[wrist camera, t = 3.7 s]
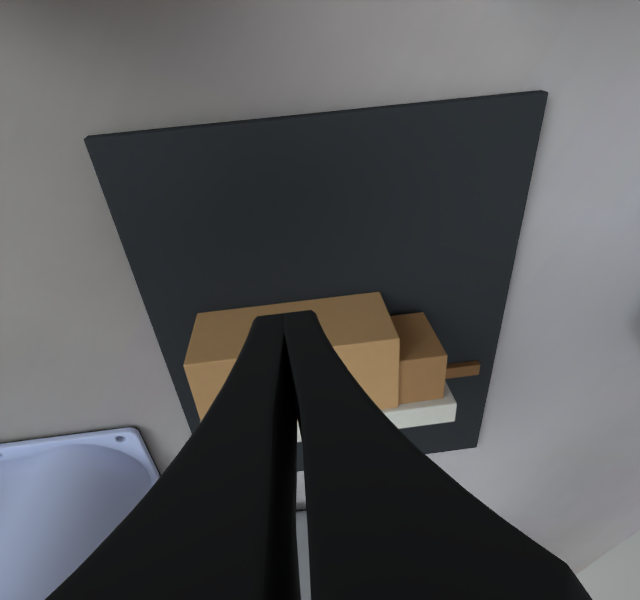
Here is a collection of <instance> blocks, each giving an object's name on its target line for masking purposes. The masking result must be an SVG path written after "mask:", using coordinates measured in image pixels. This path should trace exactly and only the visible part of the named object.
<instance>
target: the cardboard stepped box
mask: <svg viewBox="0 0 640 600" xmlns="http://www.w3.org/2000/svg"><path fill="white" fill-rule="evenodd" d="M305 310H312V311H313V312H315V313H316V314H317V317H318V320H319V322H320V325H321V327H322V329H323V331H324V333H325V334H326V336H327V338H328V340H329V341H330V343H331V345H332V346H333V348H334V350H335V351H336V353H337V354H338V356H339V357H340V359H341V360H342V361H343V363H344V364H345V366H346V367H347V369H348V370H349V371H350V373H351V374H352V376H353V377H354V378H355V380H356V381H357V382H358V383H359V385H360V386H361V387H362V388H363V390H364V391H365V392H366V393H367V395H368V396H369V397H370V398H371V399H372V401H373V402H374V403H375V404H376V405H377V406H378V408H379V409H380V410H381V411H382V412H383V413H384V414H385V415H386V416H387V417H388V418H389V420H390V421H391V422H392V423H393V424H394V425H395V426H396V427H397V428H398V429H400V428H408V427H416V426H423V425H431V424H438V423H446V422H453V421H455V415H456V407H457V403H456V401H455V399H454V397H453V395H452V393H451V391H450V389H449V387H448V385H447V383H446V382H445V377H446V366H447V354H446V352H445V350H444V348H443V347H442V345H441V343H440V341H439V339H438V338H437V336H436V334H435V332H434V331H433V329H432V327H431V325H430V323H429V322H428V320H427V318H426V316H425V314H424V313H423V312H420V313H412V314H403V315H395V316H390V315H389V312H388V310H387V308H386V306H385V303H384V301H383V299H382V296H381V294H380V292H372V293H364V294H355V295H347V296H338V297H330V298H321V299H313V300H305V301H296V302H288V303H279V304H271V305H262V306H254V307H246V308H237V309H229V310H220V311H212V312H203V313H198V314H197V316H196V320H195V324H194V328H193V331H192V335H191V339H190V343H189V346H188V350H187V354H186V358H185V361H184V365H183V366H184V369H185V372H186V376H187V379H188V382H189V385H190V388H191V392H192V395H193V398H194V401H195V404H196V408H197V411H198V414H199V417H200V420H201V421H202V419H203V418H204V416H205V414H206V413H207V411H208V410H209V408H210V406H211V405H212V403H213V401H214V400H215V398H216V396H217V395H218V393H219V391H220V390H221V388H222V386H223V385H224V383H225V381H226V379H227V377H228V375H229V373H230V371H231V369H232V368H233V366H234V364H235V362H236V360H237V358H238V356H239V354H240V352H241V349H242V347H243V345H244V343H245V341H246V338H247V336H248V333H249V331H250V328H251V325H252V322H253V320H254V319H255V318H256V317H257V316H263V315H272V314H280V313H289V312H297V311H305ZM201 421H200V422H201ZM297 442H302V440H301V435H300V429H299V424H298V419H297Z"/></svg>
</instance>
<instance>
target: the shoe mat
mask: <svg viewBox="0 0 640 600" xmlns="http://www.w3.org/2000/svg"><path fill="white" fill-rule="evenodd" d="M547 96H548V92H546V91H542V90H540V91H530V92H520V93H510V94H500V95H490V96H480V97H470V98H460V99H450V100H440V101H430V102H420V103H410V104H401V105H391V106H381V107H371V108H361V109H351V110H341V111H331V112H321V113H311V114H301V115H291V116H281V117H271V118H261V119H251V120H241V121H231V122H221V123H211V124H201V125H191V126H181V127H172V128H162V129H152V130H142V131H132V132H122V133H112V134H102V135H92V136H87V137H86V138H85V139H84V141H85V144H86V147H87V149H88V152H89V155H90V158H91V160H92V163H93V166H94V169H95V171H96V174H97V177H98V179H99V182H100V185H101V188H102V190H103V193H104V196H105V198H106V201H107V204H108V207H109V209H110V212H111V215H112V218H113V220H114V223H115V226H116V228H117V231H118V234H119V237H120V239H121V242H122V245H123V247H124V250H125V253H126V256H127V258H128V261H129V264H130V266H131V269H132V272H133V275H134V277H135V280H136V283H137V286H138V288H139V291H140V294H141V296H142V299H143V302H144V305H145V307H146V310H147V313H148V315H149V318H150V321H151V324H152V326H153V329H154V332H155V335H156V337H157V340H158V343H159V345H160V348H161V351H162V354H163V356H164V359H165V362H166V364H167V367H168V370H169V373H170V375H171V378H172V381H173V383H174V386H175V389H176V392H177V394H178V397H179V400H180V403H181V405H182V408H183V411H184V413H185V416H186V419H187V422H188V424H189V427H190V430H191V432H192V434H193V433H194V431H195V430H196V428H197V427H198V425H199V424H200V421H201V420H200V417H199V414H198V411H197V408H196V404H195V401H194V398H193V395H192V392H191V388H190V385H189V382H188V379H187V376H186V372H185V369H184V366H183V365H184V361H185V358H186V354H187V350H188V346H189V343H190V339H191V335H192V331H193V328H194V324H195V320H196V316H197V314H198V313H203V312H212V311H220V310H229V309H237V308H246V307H254V306H262V305H271V304H279V303H288V302H296V301H305V300H313V299H321V298H330V297H338V296H347V295H355V294H364V293H372V292H380V294H381V296H382V299H383V301H384V303H385V306H386V308H387V310H388V312H389V315H390V316H395V315H403V314H412V313H420V312H423V313H424V314H425V316H426V318H427V320H428V322H429V323H430V325H431V327H432V329H433V331H434V332H435V334H436V336H437V338H438V339H439V341H440V343H441V345H442V347H443V348H444V350H445V352H446V354H447V366H446V377H445V382H446V383H447V385H448V387H449V389H450V391H451V393H452V395H453V397H454V399H455V401H456V403H457V407H456V415H455V421H453V422H446V423H438V424H431V425H423V426H416V427H408V428H400V429H399V430H400V431H401V432H402V433H403V434H404V435H405V436H406V437H407V438H408V439H409V440H410V441H411V442H412V443H413V444H414V445H415V446H416V447H417V448H418V449H419V450H421V451H422V452H423V453H424V454H430V453H437V452H444V451H452V450H459V449H467V448H474V447H477V442H478V437H479V432H480V427H481V423H482V418H483V413H484V408H485V403H486V398H487V393H488V388H489V383H490V378H491V373H492V368H493V363H494V358H495V353H496V348H497V343H498V338H499V334H500V329H501V324H502V319H503V314H504V309H505V304H506V299H507V294H508V289H509V284H510V279H511V274H512V269H513V264H514V259H515V254H516V249H517V245H518V240H519V235H520V230H521V225H522V220H523V215H524V210H525V205H526V200H527V195H528V190H529V185H530V180H531V175H532V170H533V165H534V160H535V156H536V151H537V146H538V141H539V136H540V131H541V126H542V121H543V116H544V111H545V106H546V101H547ZM297 471H304V461H303V446H302V442H297Z"/></svg>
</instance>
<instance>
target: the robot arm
mask: <svg viewBox="0 0 640 600" xmlns="http://www.w3.org/2000/svg"><path fill="white" fill-rule="evenodd" d="M297 419H298V424H299V429H300V435H301V440H302V446H303V461H304V478H305V494H306V512H307V530H308V548H309V569H310V590H311V600H592V598H591V597H590V595H589V594H588V593H587V592H586V590H585V588H584V587H583V586H582V584H581V583H580V581H579V580H578V579H577V577H576V576H575V574H574V573H573V571H572V570H571V569H570V567H569V566H568V565H567V564H566V563H565V562H564V561H562V560H561V559H559V558H558V557H557V556H555V555H554V554H552V553H551V552H549V551H548V550H546V549H545V548H544V547H542V546H541V545H539V544H538V543H536V542H535V541H533V540H532V539H531V538H529V537H528V536H526V535H525V534H524V533H522V532H521V531H519V530H518V529H517V528H515V527H514V526H513V525H511V524H510V523H508V522H507V521H506V520H504V519H503V518H502V517H500V516H499V515H498V514H496V513H495V512H494V511H492V510H491V509H490V508H489V507H487V506H486V505H485V504H483V503H482V502H481V501H480V500H478V499H477V498H476V497H474V496H473V495H472V494H471V493H469V492H468V491H467V490H466V489H464V488H463V487H462V486H461V485H460V484H459V483H457V482H456V481H455V480H454V479H453V478H452V477H450V476H449V475H448V474H447V473H446V472H445V471H443V470H442V469H441V468H440V467H439V466H438V465H437V464H435V463H434V462H433V461H432V460H431V459H430V458H428V457H427V456H426V455H425V454H424V453H423V452H422V451H421V450H419V449H418V448H417V447H416V446H415V445H414V444H413V443H412V442H411V441H410V440H409V439H408V438H407V437H406V436H405V435H404V434H403V433H402V432H401V431H400V430H399V429H398V428H397V427H396V426H395V425H394V424H393V423H392V422H391V421H390V420H389V418H388V417H387V416H386V415H385V414H384V413H383V412H382V411H381V410H380V409H379V408H378V406H377V405H376V404H375V403H374V402H373V401H372V399H371V398H370V397H369V396H368V395H367V393H366V392H365V391H364V390H363V388H362V387H361V386H360V385H359V383H358V382H357V381H356V380H355V378H354V377H353V376H352V374H351V373H350V371H349V370H348V369H347V367H346V366H345V364H344V363H343V361H342V360H341V359H340V357H339V356H338V354H337V353H336V351H335V350H334V348H333V346H332V345H331V343H330V341H329V340H328V338H327V336H326V334H325V333H324V331H323V329H322V327H321V325H320V322H319V320H318V317H317V314H316V313H315V312H313V311H312V310H305V311H297V312H289V313H280V314H272V315H263V316H257V317H256V318H255V319H254V320H253V322H252V325H251V328H250V331H249V333H248V336H247V338H246V341H245V343H244V345H243V347H242V349H241V352H240V354H239V356H238V358H237V360H236V362H235V364H234V366H233V368H232V369H231V371H230V373H229V375H228V377H227V379H226V381H225V383H224V385H223V386H222V388H221V390H220V391H219V393H218V395H217V396H216V398H215V400H214V401H213V403H212V405H211V406H210V408H209V410H208V411H207V413H206V414H205V416H204V418H203V419H202V421H201V422H200V424H199V425H198V427H197V428H196V430H195V431H194V433H193V434H192V435H191V437H190V438H189V440H188V441H187V442H186V444H185V445H184V447H183V448H182V449H181V451H180V452H179V453H178V455H177V456H176V457H175V459H174V460H173V461H172V463H171V464H170V465H169V466H168V468H167V469H166V470H165V471H164V473H163V474H162V475H161V476H160V475H159V473H158V471H157V469H156V467H155V465H154V462H153V460H152V458H151V456H150V454H149V452H148V450H147V448H146V445H145V443H144V441H143V439H142V437H141V435H140V433H139V431H138V430H137V429H135V428H132V427H127V428H119V429H112V430H104V431H96V432H88V433H81V434H73V435H65V436H57V437H50V438H42V439H34V440H26V441H19V442H11V443H3V444H0V600H301V591H300V577H299V563H298V549H297V534H296V483H297Z"/></svg>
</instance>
